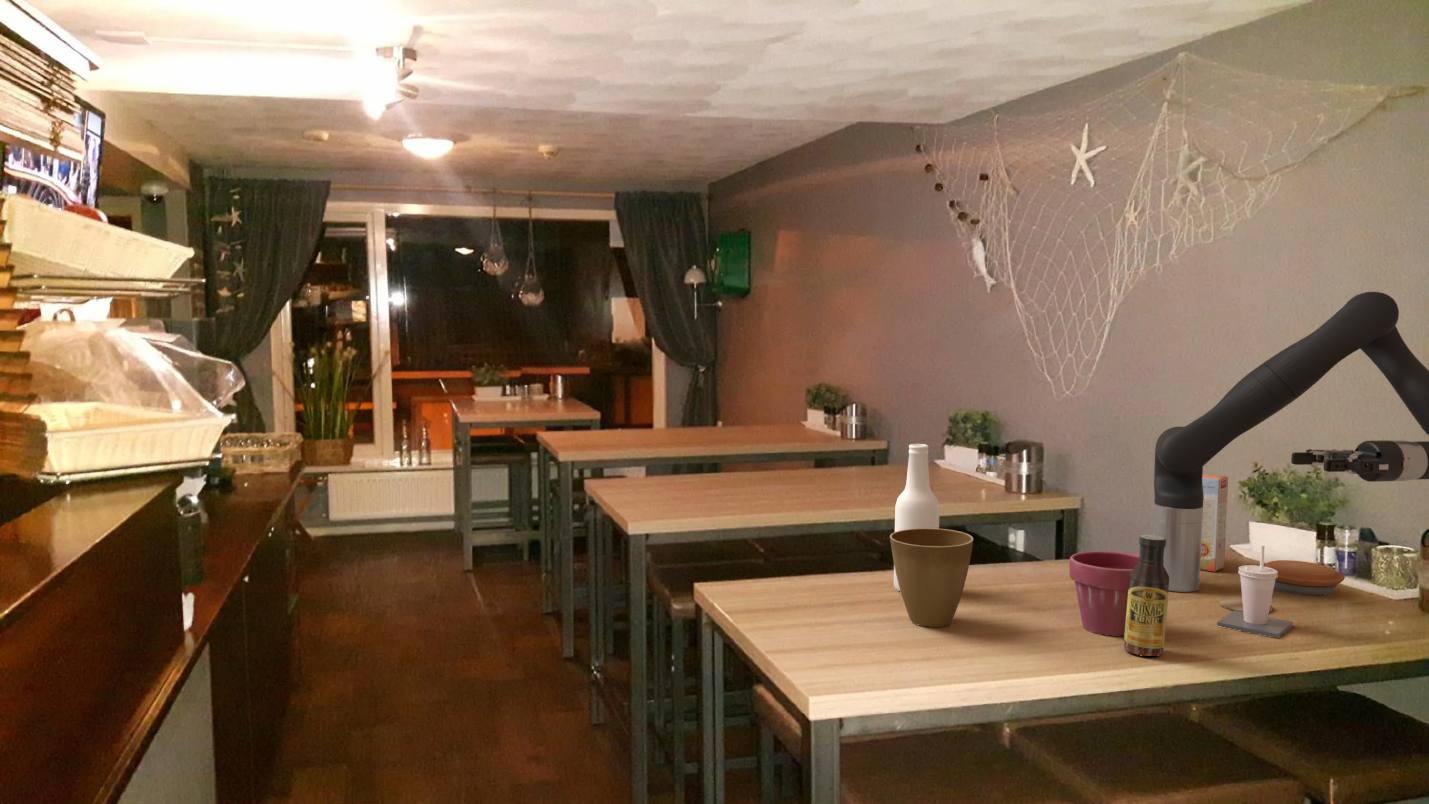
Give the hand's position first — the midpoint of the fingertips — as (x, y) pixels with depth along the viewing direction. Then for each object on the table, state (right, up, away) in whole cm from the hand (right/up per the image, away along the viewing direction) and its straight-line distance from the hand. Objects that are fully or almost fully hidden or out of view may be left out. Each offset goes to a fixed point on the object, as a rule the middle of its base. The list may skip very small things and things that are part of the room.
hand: (1308, 461), depth 186 cm
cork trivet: (-5, -29, +13) cm, 32 cm away
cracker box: (-1, -26, +46) cm, 53 cm away
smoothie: (-9, -29, +1) cm, 31 cm away
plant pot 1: (-68, -30, +3) cm, 75 cm away
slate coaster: (-9, -30, +1) cm, 31 cm away
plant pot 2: (-37, -30, -1) cm, 48 cm away
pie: (+14, -28, +27) cm, 41 cm away
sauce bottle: (-36, -31, -14) cm, 49 cm away
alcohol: (-67, -28, +24) cm, 76 cm away
